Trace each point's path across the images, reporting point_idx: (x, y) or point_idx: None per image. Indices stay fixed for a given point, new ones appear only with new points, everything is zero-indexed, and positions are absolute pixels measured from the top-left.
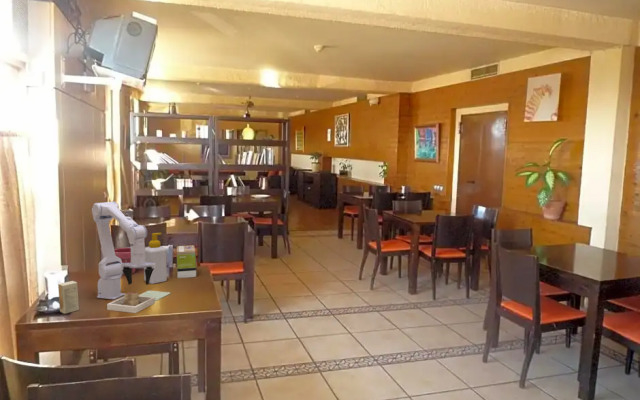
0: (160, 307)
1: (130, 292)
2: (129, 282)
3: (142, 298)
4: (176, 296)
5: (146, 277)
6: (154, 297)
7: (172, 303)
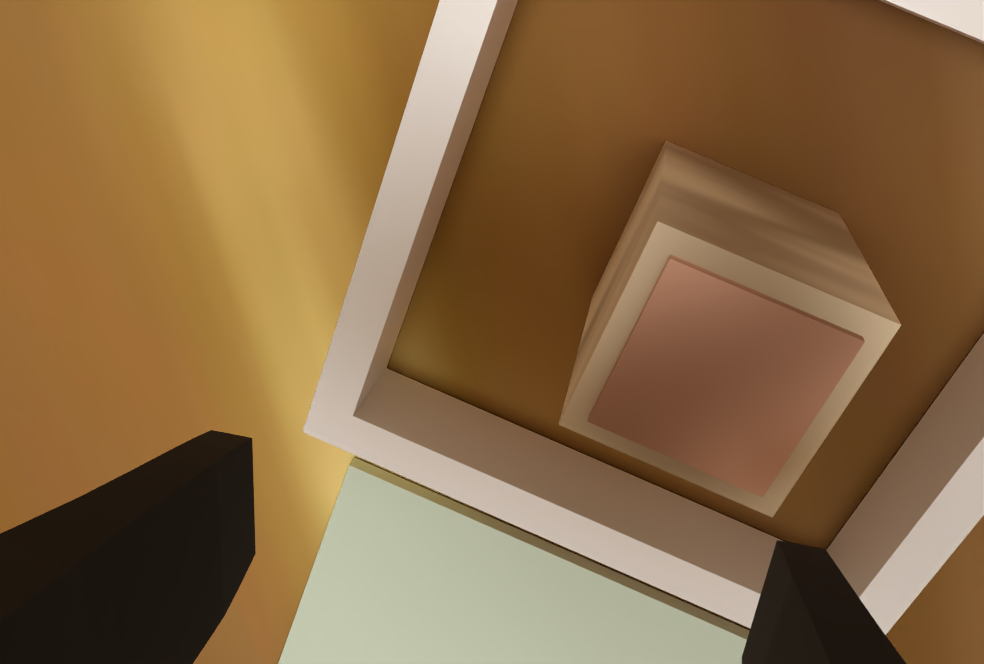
0: (176, 134)
1: (747, 397)
2: (799, 580)
3: (550, 481)
4: None
5: (46, 550)
6: (313, 429)
7: (68, 317)
